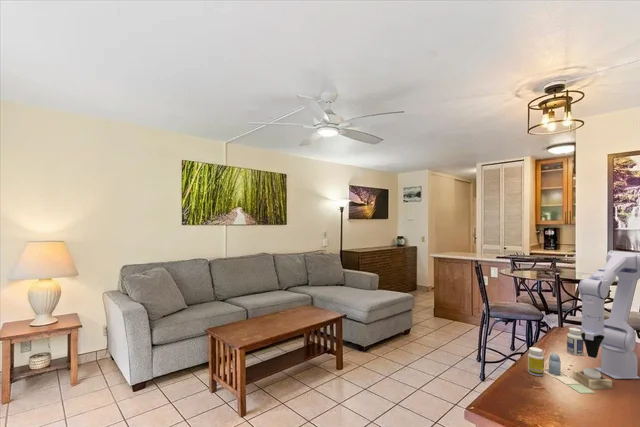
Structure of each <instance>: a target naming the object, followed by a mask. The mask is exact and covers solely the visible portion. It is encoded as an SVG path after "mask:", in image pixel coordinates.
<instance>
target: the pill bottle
mask: <svg viewBox="0 0 640 427" xmlns="http://www.w3.org/2000/svg"><path fill="white" fill-rule="evenodd" d="M568 329H569V330H568V332H569V333H567V334H566V352H567V353H568V354H570V355H573V356H583V355H584V345H585V343H584V341H583V339H582V337H581V334H582V330H581V329H578V328H576V327H569V328H568Z"/></svg>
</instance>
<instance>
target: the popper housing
mask: <svg viewBox="0 0 640 427" xmlns="http://www.w3.org/2000/svg"><path fill="white" fill-rule="evenodd" d="M572 373H573V374H572V375H573V378H572V379H573V380H575V381H577V382H578V381H579V382H578V383H580V384H582V385H583V386H585V387H587V388H589V389H590V390H601V389H602V390H605V389H606V390H608V389H609V390H610V389H613V380H612V379H610V378H608V377H607V376H604V375H602V374H601V379H590V378H588V377H587V376H585V375H584V370H573V372H572Z"/></svg>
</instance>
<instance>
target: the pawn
mask: <svg viewBox="0 0 640 427" xmlns="http://www.w3.org/2000/svg"><path fill="white" fill-rule="evenodd" d="M561 365H562V364H561V358H560V355H558V354H557V353H551V354H550V355H549V358H548V368H549V370H548V373H549V374H550V375H552V376H561V374H562V373H561Z"/></svg>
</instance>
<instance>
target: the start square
mask: <svg viewBox="0 0 640 427" xmlns="http://www.w3.org/2000/svg"><path fill="white" fill-rule="evenodd" d="M546 370H547V371H549V367H547V368H545V367H544V374H547V375H548V376H550V377H551V378H555V377H570V378H571V376H570V375H568V374H567V373H565V372H563V371H561V374H563V375H553V374H550V373H549V372H547V371H546ZM555 379H556V378H555Z"/></svg>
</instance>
